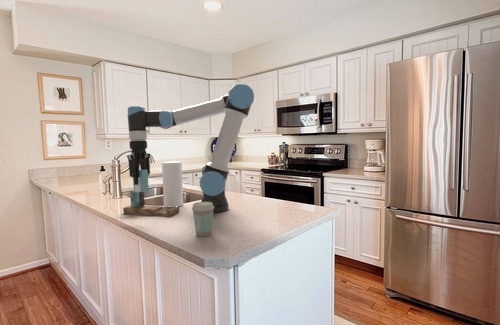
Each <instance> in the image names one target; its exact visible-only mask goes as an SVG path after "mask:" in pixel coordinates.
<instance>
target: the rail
mask: <svg viewBox="0 0 500 325" xmlns="http://www.w3.org/2000/svg"><path fill="white" fill-rule="evenodd" d="M129 196H130V205H128V206H125V207H123V208H122V209H123V210H122V211H123V212H122V213H123V214H124V215H138V214H140V215H139V216H142V215H143V216H155V215H163V216H162V217H171V216H172V217H174V216H175V214H176V215H178V214H179V213H180V207H173V208H169V209H168V208H167V209H166V208H164V205H145V192H134V189H132V190H130V191H129ZM177 213H178V214H177ZM173 215H174V216H173Z"/></svg>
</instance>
